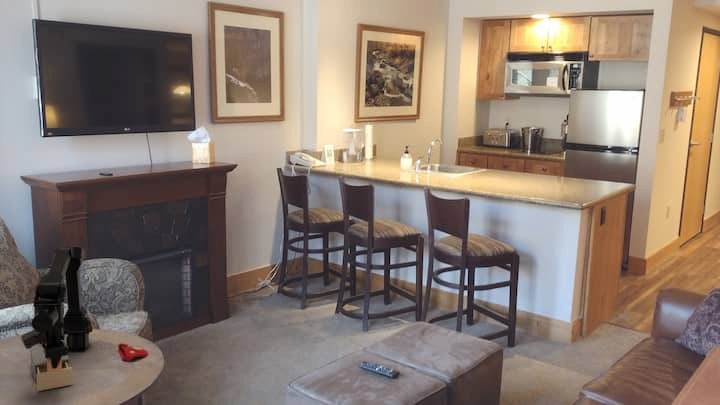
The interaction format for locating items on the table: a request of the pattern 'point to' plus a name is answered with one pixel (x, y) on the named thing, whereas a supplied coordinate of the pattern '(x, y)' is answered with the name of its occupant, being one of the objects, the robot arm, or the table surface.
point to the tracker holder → (131, 351)
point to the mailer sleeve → (41, 359)
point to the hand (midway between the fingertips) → (54, 367)
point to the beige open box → (53, 375)
